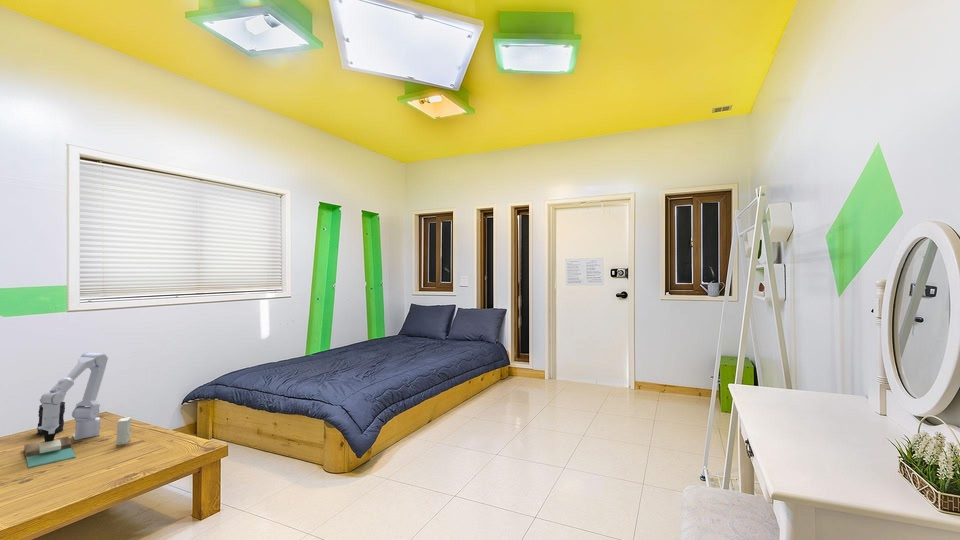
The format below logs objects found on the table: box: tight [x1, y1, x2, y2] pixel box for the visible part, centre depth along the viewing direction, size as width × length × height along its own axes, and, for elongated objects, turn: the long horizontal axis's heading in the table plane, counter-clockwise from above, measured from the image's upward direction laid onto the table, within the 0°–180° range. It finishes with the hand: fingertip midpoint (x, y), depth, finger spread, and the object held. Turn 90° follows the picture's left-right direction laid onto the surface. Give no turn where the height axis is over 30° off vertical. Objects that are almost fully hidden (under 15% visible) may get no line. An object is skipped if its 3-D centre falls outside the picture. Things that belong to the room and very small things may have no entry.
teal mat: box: [25, 447, 76, 469], centre depth 191 cm, size 15×14×1 cm
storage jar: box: [36, 401, 66, 437], centre depth 219 cm, size 10×10×15 cm
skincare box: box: [115, 416, 132, 446], centre depth 212 cm, size 6×4×12 cm
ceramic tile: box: [39, 440, 61, 453], centre depth 196 cm, size 7×6×2 cm
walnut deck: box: [23, 436, 72, 458], centre depth 200 cm, size 15×12×2 cm
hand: (48, 444), depth 198 cm, fingers closed
